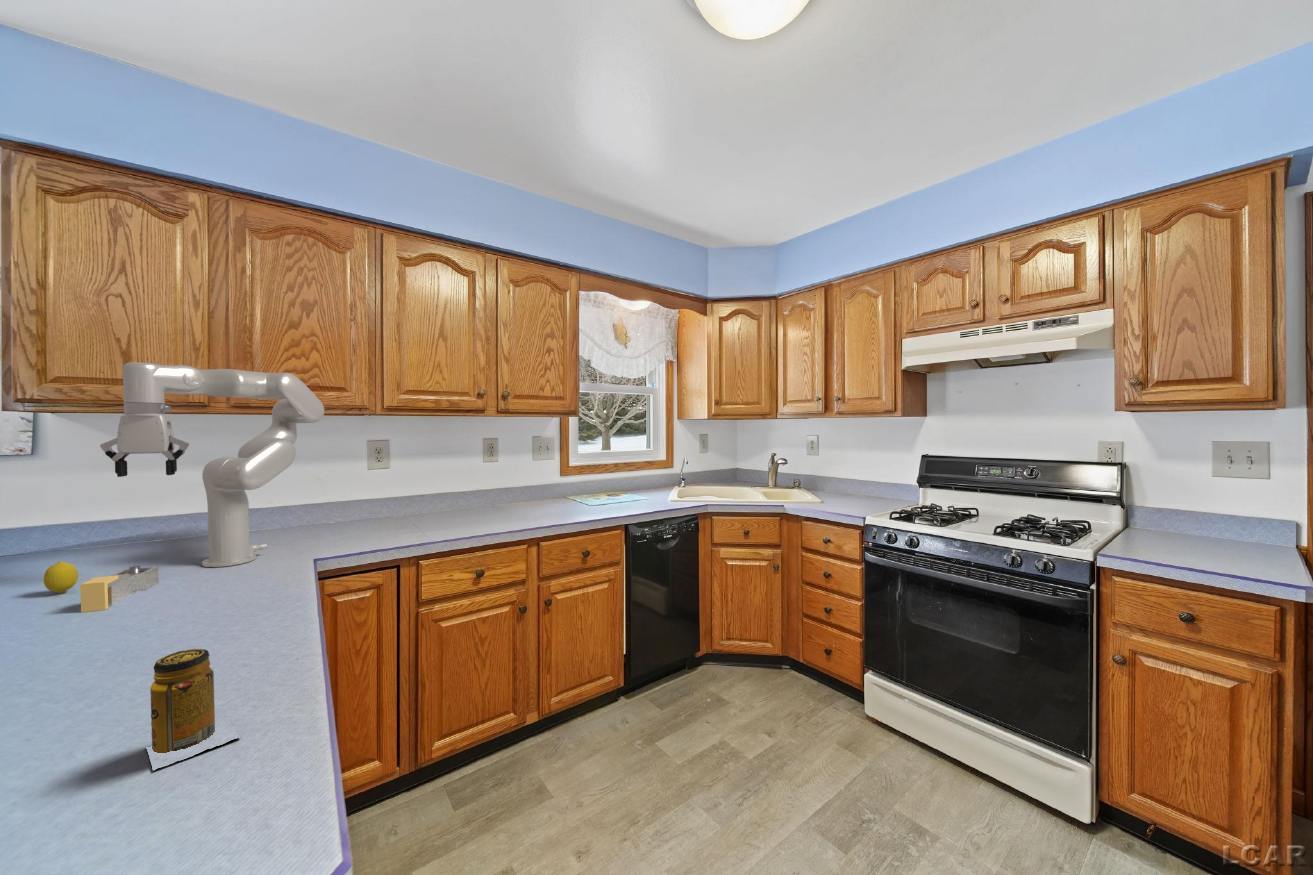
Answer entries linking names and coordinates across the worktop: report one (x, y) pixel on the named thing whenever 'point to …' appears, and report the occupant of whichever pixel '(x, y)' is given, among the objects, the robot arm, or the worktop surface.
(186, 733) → the condiment
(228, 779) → the worktop surface
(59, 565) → the lemon
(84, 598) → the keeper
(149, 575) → the link
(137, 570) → the cylinder
